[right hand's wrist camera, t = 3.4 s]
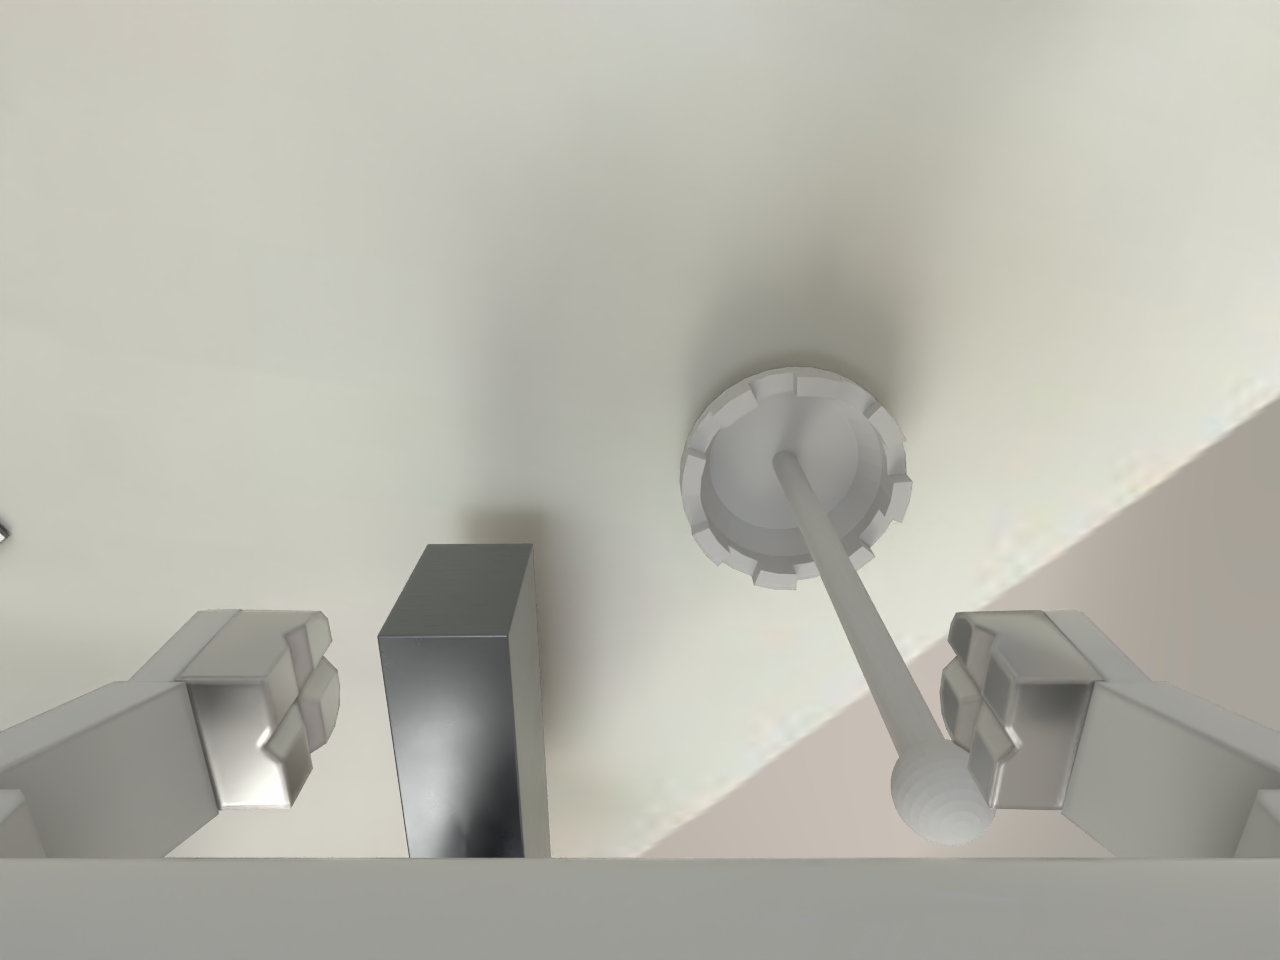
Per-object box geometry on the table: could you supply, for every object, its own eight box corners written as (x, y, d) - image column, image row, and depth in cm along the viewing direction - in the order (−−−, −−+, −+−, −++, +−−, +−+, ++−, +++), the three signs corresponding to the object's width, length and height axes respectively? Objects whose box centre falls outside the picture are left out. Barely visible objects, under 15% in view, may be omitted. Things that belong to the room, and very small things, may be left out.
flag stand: (654, 385, 48) (672, 692, 20) (867, 329, 47) (1202, 573, 19) (704, 569, 53) (775, 1025, 25) (899, 523, 51) (1205, 948, 24)
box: (427, 543, 45) (376, 636, 36) (532, 543, 45) (508, 635, 36) (463, 864, 54) (429, 1002, 45) (551, 863, 54) (535, 1001, 45)
